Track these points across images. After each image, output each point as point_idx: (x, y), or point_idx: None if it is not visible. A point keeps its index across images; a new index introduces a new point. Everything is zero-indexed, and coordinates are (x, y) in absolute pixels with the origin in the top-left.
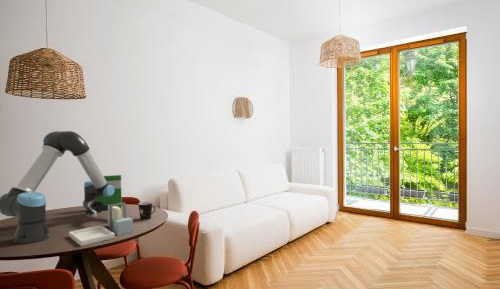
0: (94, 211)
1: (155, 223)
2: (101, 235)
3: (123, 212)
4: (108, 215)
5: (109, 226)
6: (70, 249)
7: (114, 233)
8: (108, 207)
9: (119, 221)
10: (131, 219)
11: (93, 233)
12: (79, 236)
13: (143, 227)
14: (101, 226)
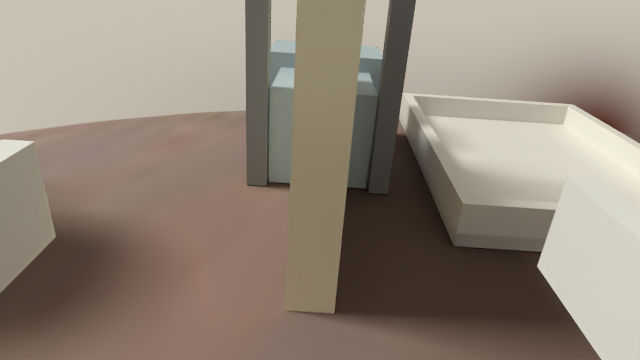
0: (636, 209)
1: (43, 136)
2: (465, 143)
3: (270, 33)
4: (347, 174)
5: (392, 156)
6: None
7: (404, 93)
8: (360, 33)
9: (365, 48)
10: (286, 41)
11: (520, 181)
12: (623, 188)
13: (172, 133)
14: (457, 181)
